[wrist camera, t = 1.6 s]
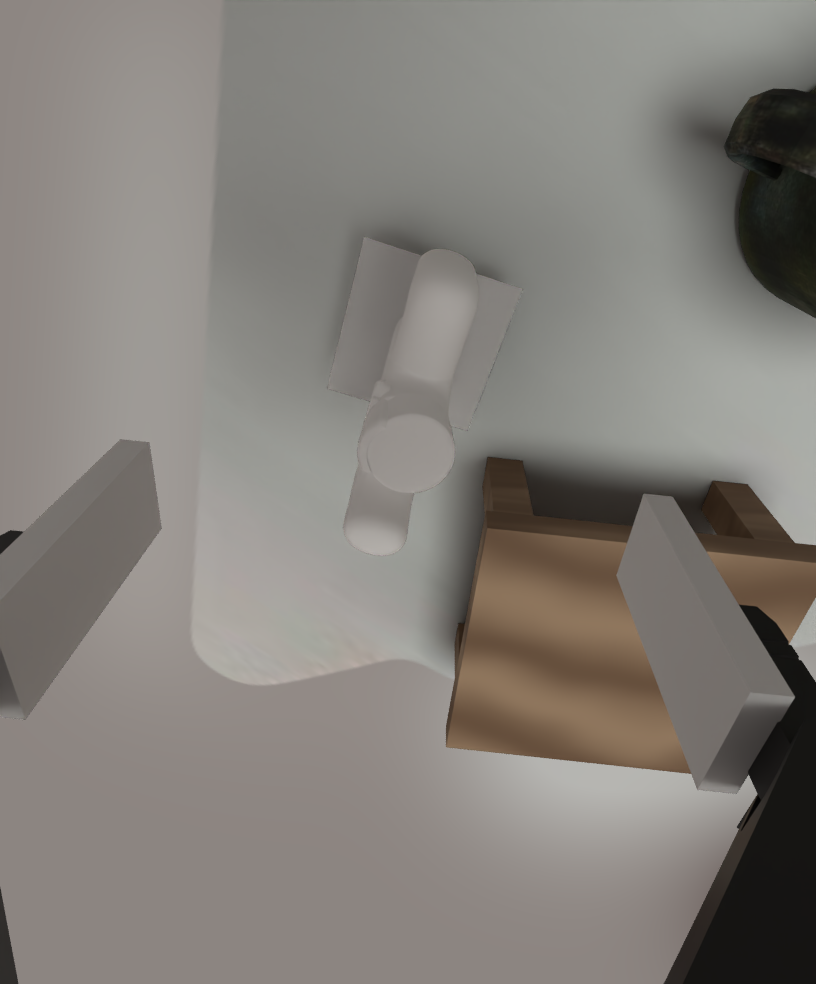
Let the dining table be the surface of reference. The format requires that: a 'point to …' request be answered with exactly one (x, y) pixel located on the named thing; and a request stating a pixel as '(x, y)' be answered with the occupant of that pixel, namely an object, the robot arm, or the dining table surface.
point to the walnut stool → (592, 626)
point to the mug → (779, 192)
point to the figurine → (413, 376)
